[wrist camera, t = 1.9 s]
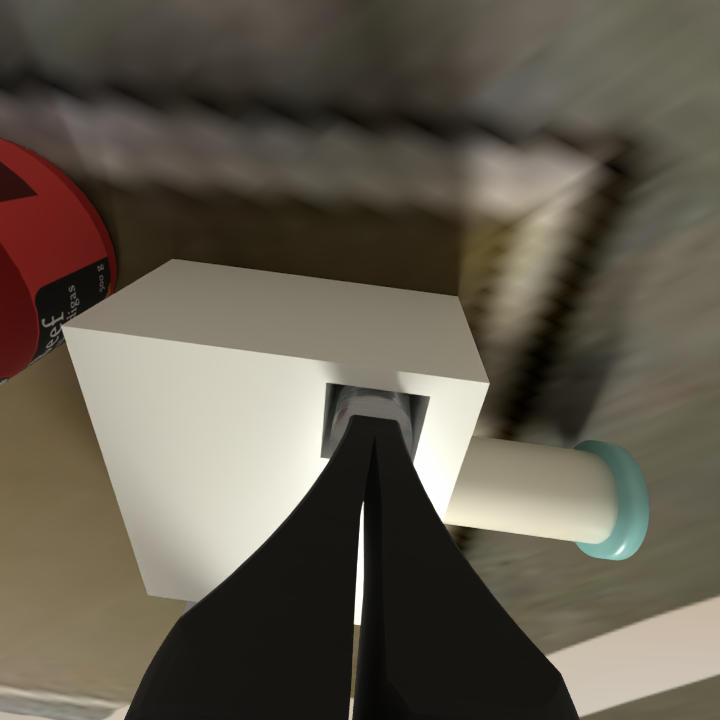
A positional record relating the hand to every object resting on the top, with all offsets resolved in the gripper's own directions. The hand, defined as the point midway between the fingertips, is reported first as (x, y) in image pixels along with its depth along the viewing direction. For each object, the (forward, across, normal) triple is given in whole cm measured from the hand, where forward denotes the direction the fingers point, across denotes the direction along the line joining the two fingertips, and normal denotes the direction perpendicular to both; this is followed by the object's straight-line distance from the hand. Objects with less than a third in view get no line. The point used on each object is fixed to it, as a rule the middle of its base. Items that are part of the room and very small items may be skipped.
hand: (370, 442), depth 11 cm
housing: (+7, +3, +5) cm, 9 cm away
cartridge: (+6, -2, +5) cm, 8 cm away
